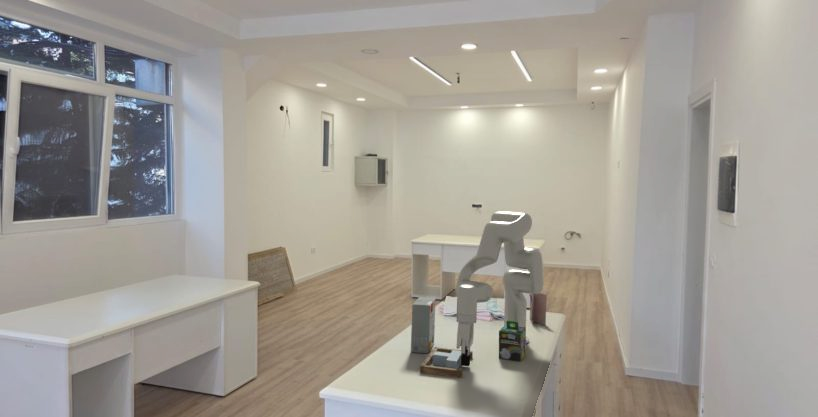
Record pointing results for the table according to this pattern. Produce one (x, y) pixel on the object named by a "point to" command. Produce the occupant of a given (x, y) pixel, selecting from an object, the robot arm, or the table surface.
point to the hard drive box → (423, 325)
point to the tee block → (447, 359)
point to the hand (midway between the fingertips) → (465, 365)
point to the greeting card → (538, 308)
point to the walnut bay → (442, 371)
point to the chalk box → (512, 342)
